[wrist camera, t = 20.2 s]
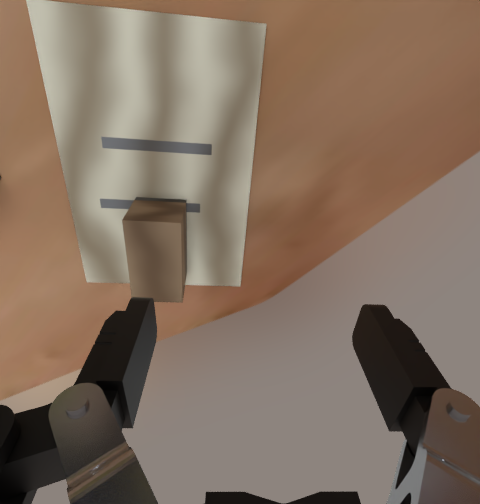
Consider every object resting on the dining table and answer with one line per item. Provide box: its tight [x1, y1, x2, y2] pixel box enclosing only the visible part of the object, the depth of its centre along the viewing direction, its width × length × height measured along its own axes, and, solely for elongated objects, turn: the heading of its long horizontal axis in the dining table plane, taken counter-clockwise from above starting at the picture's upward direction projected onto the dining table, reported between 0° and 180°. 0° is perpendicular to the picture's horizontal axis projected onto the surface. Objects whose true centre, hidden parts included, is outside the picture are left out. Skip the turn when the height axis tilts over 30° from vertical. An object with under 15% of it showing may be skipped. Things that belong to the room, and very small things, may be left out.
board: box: [26, 0, 266, 286], centre depth 31 cm, size 18×26×2 cm
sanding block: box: [122, 197, 187, 302], centre depth 32 cm, size 5×9×5 cm, turn 175°
